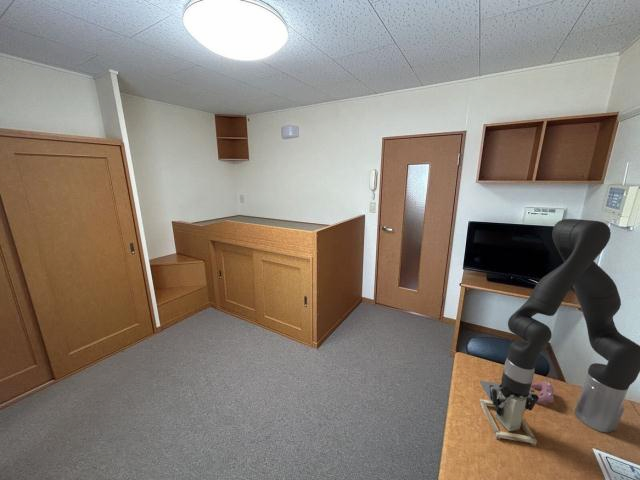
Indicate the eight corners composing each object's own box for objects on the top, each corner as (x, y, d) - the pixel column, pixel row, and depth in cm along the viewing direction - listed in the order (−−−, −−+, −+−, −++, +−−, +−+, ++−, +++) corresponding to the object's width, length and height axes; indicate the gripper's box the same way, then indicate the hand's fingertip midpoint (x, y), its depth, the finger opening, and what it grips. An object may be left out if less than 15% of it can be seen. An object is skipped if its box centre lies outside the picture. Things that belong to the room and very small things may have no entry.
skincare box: (519, 430, 86) (528, 400, 82) (508, 431, 85) (516, 402, 82) (504, 413, 92) (511, 385, 88) (493, 414, 91) (499, 386, 88)
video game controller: (543, 410, 95) (558, 401, 92) (530, 400, 97) (545, 391, 94) (541, 393, 103) (555, 384, 99) (529, 383, 105) (543, 374, 101)
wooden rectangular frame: (512, 408, 94) (513, 404, 93) (535, 445, 81) (537, 440, 81) (478, 403, 96) (479, 399, 95) (495, 438, 83) (497, 434, 83)
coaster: (506, 385, 104) (507, 384, 104) (520, 407, 95) (521, 405, 94) (480, 381, 106) (480, 380, 106) (491, 402, 96) (491, 401, 96)
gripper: (535, 368, 86) (524, 409, 90) (488, 362, 88) (480, 402, 92) (551, 386, 78) (538, 429, 83) (499, 379, 81) (489, 421, 85)
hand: (507, 415), depth 87 cm, fingers closed on skincare box, 5 cm apart
